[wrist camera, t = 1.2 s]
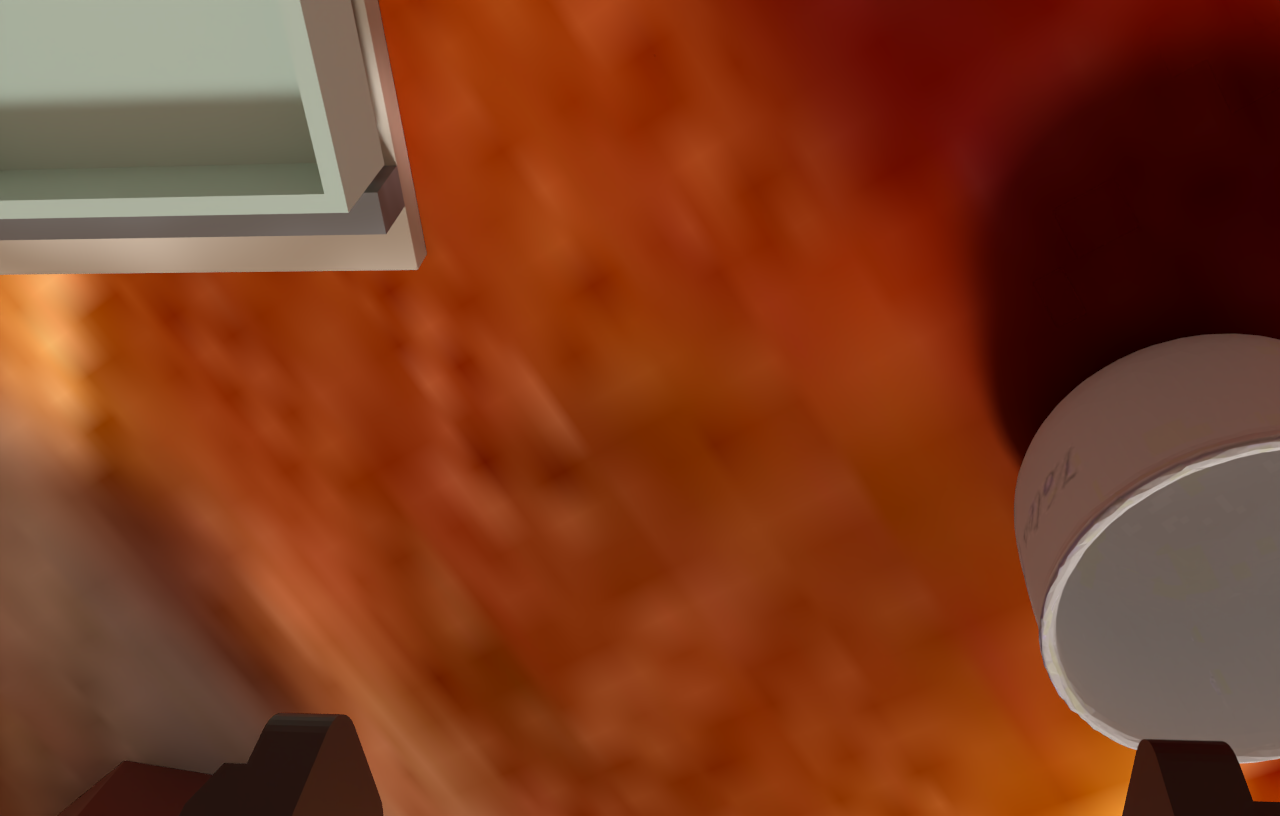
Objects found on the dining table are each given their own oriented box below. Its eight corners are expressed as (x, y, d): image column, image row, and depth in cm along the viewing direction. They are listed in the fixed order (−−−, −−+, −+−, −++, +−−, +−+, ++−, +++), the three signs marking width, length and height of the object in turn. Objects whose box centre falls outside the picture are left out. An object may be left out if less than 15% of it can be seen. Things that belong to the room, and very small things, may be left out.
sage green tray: (-157, -180, 28) (-273, -154, 25) (318, -213, 26) (256, -190, 23) (-16, 164, 33) (-98, 221, 30) (392, 154, 31) (348, 212, 28)
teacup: (955, 348, 34) (992, 523, 28) (1360, 227, 31) (1512, 394, 24) (1064, 664, 41) (1115, 865, 34) (1407, 593, 37) (1536, 802, 31)
